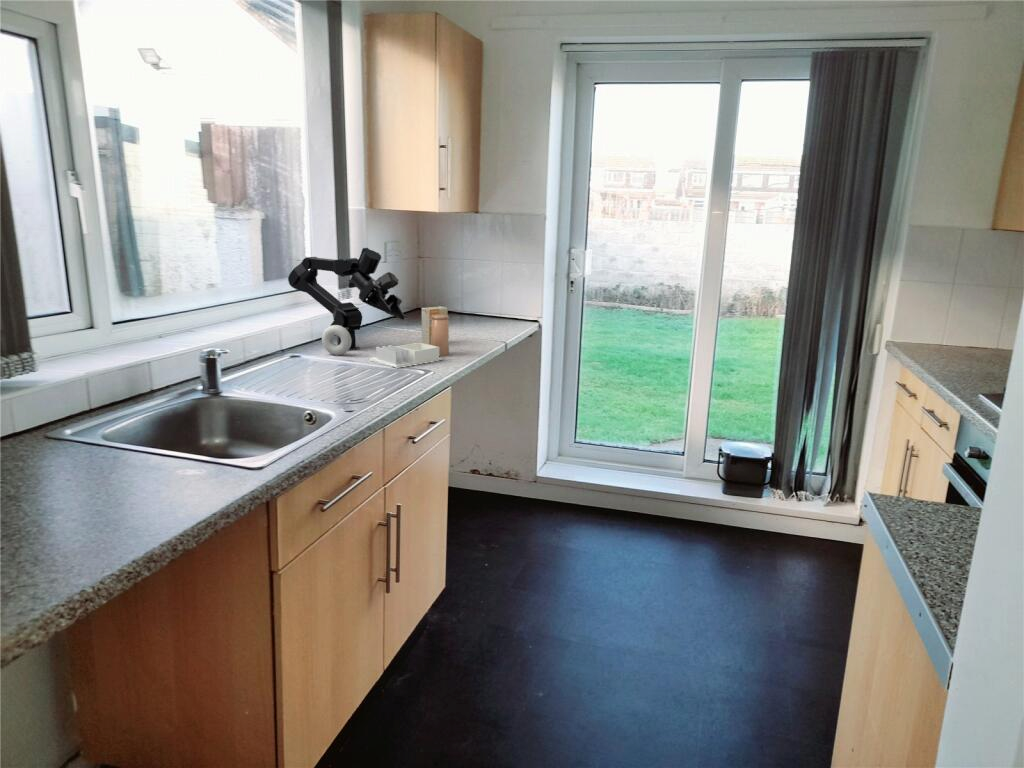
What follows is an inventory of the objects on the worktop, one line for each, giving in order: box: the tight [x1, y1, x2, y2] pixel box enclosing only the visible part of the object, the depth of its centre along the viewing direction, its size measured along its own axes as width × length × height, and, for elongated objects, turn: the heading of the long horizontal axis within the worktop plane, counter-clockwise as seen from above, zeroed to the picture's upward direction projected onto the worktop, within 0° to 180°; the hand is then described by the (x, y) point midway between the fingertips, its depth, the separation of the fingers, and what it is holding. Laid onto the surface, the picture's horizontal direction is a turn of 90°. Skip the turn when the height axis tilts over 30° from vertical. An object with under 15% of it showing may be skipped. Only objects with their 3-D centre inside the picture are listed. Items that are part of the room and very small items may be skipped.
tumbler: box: [431, 315, 450, 357], centre depth 235 cm, size 6×6×13 cm
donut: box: [321, 324, 352, 356], centre depth 232 cm, size 10×4×10 cm, turn 80°
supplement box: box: [421, 306, 449, 345], centre depth 252 cm, size 8×5×13 cm, turn 131°
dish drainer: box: [369, 342, 443, 367], centre depth 226 cm, size 14×18×5 cm
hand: (397, 315), depth 227 cm, fingers open, 9 cm apart
